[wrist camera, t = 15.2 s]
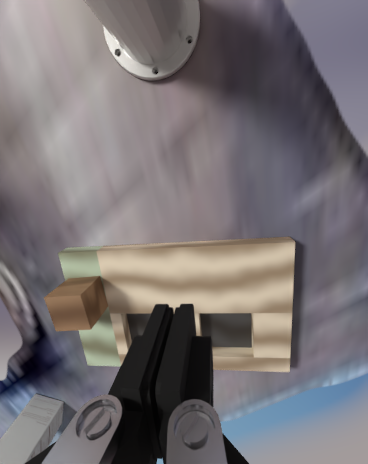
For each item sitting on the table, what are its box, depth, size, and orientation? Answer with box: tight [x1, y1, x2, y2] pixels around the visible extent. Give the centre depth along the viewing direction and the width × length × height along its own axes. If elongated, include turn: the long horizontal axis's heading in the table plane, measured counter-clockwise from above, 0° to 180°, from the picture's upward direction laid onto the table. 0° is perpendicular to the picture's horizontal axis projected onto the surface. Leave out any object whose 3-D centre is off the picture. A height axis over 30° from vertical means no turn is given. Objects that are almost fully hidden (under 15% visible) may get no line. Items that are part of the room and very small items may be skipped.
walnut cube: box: [44, 276, 108, 331], centre depth 37 cm, size 6×6×6 cm
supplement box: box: [0, 394, 64, 464], centre depth 48 cm, size 7×7×13 cm
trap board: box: [58, 237, 295, 372], centre depth 40 cm, size 24×38×2 cm, turn 95°
